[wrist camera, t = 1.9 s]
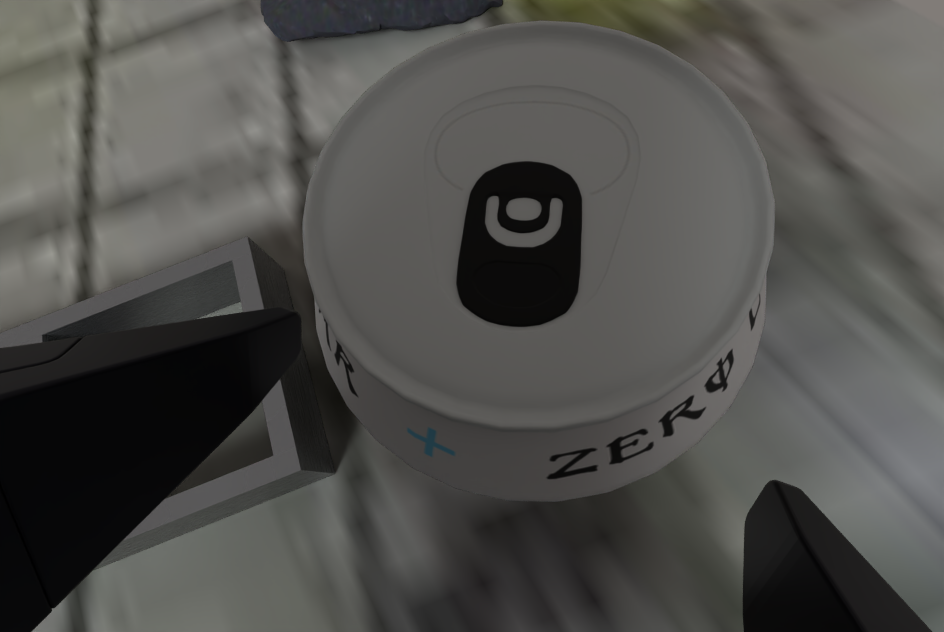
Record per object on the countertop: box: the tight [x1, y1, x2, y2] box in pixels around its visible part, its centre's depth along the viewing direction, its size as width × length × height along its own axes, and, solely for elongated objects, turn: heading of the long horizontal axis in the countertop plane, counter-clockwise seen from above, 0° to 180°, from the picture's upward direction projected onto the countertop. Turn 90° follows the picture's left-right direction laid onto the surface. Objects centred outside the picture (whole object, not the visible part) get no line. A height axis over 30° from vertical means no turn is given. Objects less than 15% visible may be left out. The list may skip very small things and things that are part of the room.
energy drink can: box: [302, 21, 775, 502], centre depth 12 cm, size 6×6×15 cm
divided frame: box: [0, 237, 335, 570], centre depth 19 cm, size 10×19×3 cm, turn 111°
